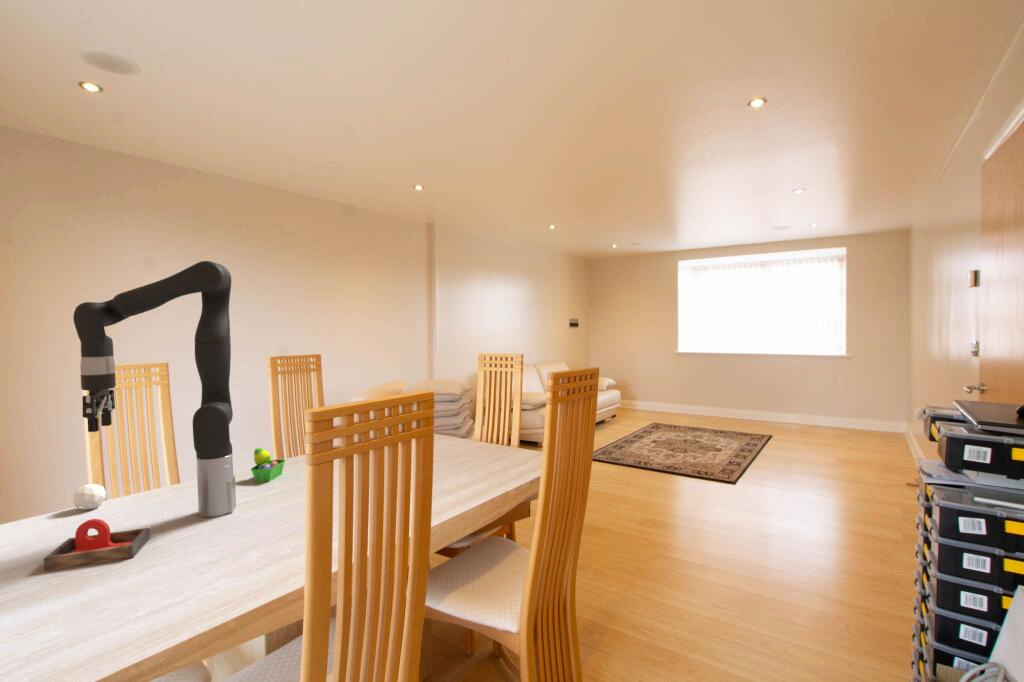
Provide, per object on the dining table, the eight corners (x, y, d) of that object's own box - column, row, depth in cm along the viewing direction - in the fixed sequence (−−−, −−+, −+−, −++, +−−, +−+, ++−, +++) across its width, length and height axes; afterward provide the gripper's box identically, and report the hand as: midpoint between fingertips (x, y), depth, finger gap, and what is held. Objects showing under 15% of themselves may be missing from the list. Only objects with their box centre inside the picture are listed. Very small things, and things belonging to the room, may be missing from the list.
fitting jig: (149, 538, 127) (149, 527, 127) (133, 557, 117) (132, 545, 116) (69, 550, 121) (69, 538, 121) (44, 571, 111) (43, 558, 111)
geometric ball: (93, 514, 151) (105, 489, 155) (102, 510, 147) (114, 484, 151) (63, 509, 146) (77, 483, 150) (72, 504, 142) (86, 478, 146)
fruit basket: (271, 482, 171) (270, 451, 170) (246, 483, 171) (245, 451, 170) (286, 472, 182) (285, 443, 182) (263, 473, 182) (262, 443, 182)
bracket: (66, 560, 115) (65, 528, 114) (79, 551, 119) (77, 520, 119) (124, 554, 117) (122, 522, 117) (134, 546, 122) (133, 515, 121)
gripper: (103, 374, 131) (105, 432, 132) (124, 369, 145) (125, 422, 145) (69, 375, 129) (71, 435, 129) (93, 370, 142) (95, 424, 142)
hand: (100, 428), depth 137 cm, fingers open, 8 cm apart
